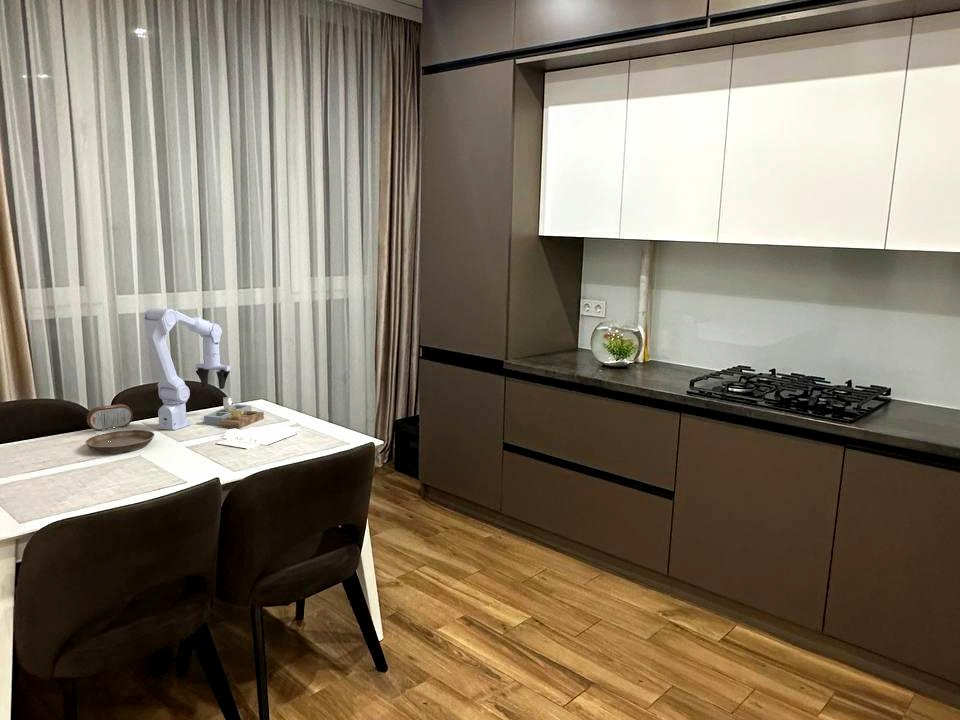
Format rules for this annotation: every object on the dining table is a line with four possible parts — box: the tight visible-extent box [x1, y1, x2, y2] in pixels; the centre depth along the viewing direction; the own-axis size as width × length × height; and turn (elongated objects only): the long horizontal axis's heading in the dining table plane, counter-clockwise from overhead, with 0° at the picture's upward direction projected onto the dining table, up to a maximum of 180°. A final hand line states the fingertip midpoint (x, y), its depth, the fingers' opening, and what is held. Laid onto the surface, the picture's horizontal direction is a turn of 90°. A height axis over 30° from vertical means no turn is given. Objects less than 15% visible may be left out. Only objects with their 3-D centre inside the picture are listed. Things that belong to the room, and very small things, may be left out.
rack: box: [203, 403, 252, 426], centre depth 280 cm, size 20×7×3 cm, turn 163°
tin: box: [86, 403, 134, 431], centre depth 264 cm, size 15×3×8 cm, turn 130°
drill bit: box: [222, 396, 233, 412], centre depth 280 cm, size 3×3×8 cm
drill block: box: [219, 410, 265, 430], centre depth 274 cm, size 16×8×2 cm, turn 163°
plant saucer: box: [85, 429, 155, 454], centre depth 243 cm, size 21×21×3 cm
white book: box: [215, 423, 301, 450], centre depth 256 cm, size 20×28×4 cm
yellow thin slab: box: [228, 409, 244, 420], centre depth 270 cm, size 1×6×5 cm, turn 74°
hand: (213, 388), depth 285 cm, fingers open, 7 cm apart
